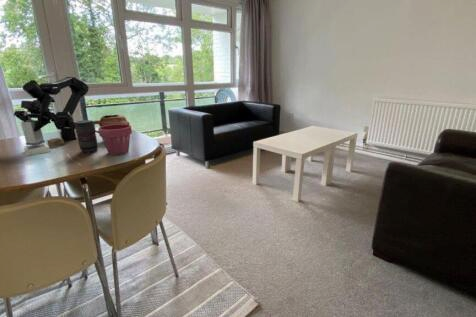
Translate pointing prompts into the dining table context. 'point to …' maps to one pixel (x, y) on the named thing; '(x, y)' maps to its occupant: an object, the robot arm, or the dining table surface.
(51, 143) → the walnut block
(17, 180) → the dining table surface
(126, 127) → the plant pot
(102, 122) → the decorative planter
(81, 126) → the camera lens
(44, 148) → the stand
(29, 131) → the housing
